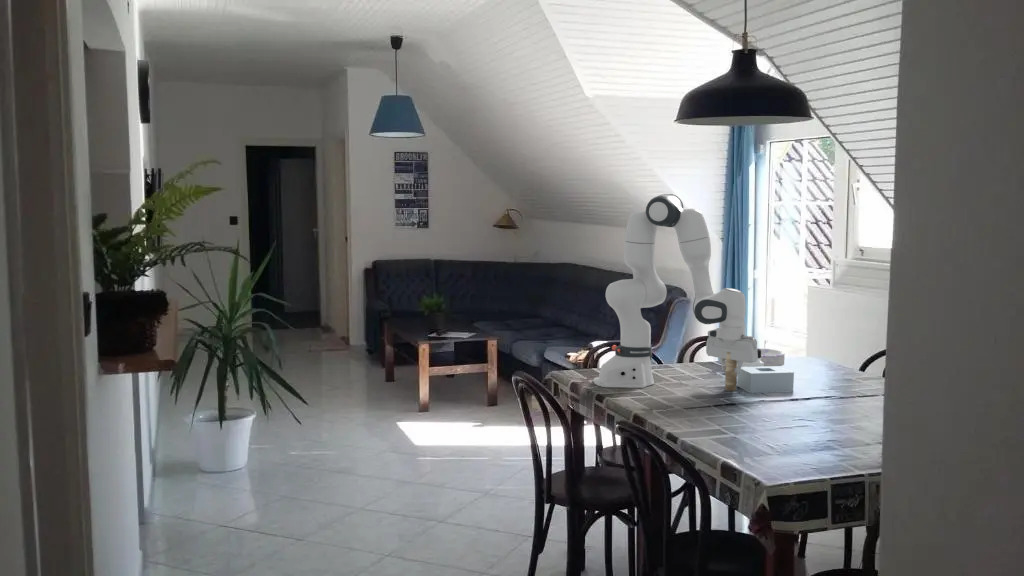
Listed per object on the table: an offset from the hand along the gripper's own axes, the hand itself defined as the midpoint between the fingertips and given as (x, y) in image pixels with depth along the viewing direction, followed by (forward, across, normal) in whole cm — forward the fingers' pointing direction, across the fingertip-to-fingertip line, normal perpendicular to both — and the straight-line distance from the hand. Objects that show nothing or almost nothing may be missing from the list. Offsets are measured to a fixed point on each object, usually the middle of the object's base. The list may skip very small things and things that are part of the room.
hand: (731, 371), depth 317 cm
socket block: (+7, -7, -11) cm, 15 cm away
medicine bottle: (+7, +6, -21) cm, 23 cm away
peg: (+7, 0, 0) cm, 7 cm away
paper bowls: (+7, +13, -40) cm, 42 cm away
